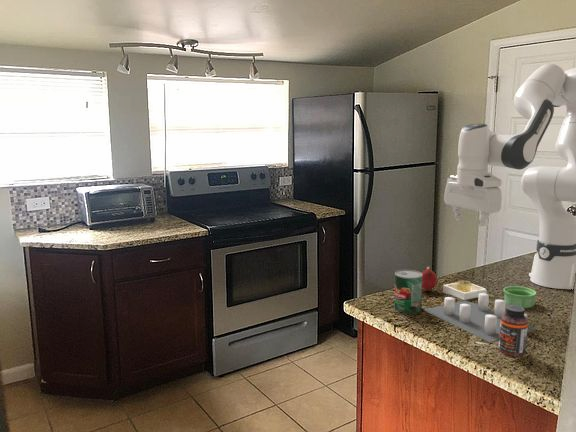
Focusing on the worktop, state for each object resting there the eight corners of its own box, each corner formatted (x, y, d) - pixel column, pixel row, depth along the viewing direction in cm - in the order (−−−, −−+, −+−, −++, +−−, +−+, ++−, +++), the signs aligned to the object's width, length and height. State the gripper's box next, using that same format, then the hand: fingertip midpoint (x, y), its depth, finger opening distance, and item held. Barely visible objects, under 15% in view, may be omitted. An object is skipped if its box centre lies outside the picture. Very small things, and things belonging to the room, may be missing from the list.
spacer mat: (466, 301, 158) (467, 286, 158) (536, 330, 136) (538, 313, 135) (422, 310, 151) (423, 294, 150) (489, 343, 129) (490, 325, 128)
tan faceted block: (464, 290, 167) (465, 279, 166) (474, 293, 164) (474, 283, 163) (453, 292, 165) (454, 281, 164) (462, 296, 162) (463, 285, 161)
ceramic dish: (464, 288, 171) (464, 280, 170) (486, 296, 162) (486, 288, 162) (442, 292, 167) (443, 285, 166) (463, 301, 159) (464, 293, 158)
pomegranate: (437, 294, 165) (438, 270, 163) (418, 293, 166) (419, 269, 165) (436, 288, 170) (437, 265, 169) (417, 287, 172) (418, 264, 170)
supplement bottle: (494, 352, 124) (497, 307, 122) (504, 345, 128) (507, 301, 126) (519, 360, 120) (523, 314, 118) (529, 352, 124) (533, 307, 122)
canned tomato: (425, 308, 154) (426, 272, 152) (415, 316, 147) (417, 279, 145) (400, 302, 158) (401, 268, 156) (389, 311, 152) (390, 274, 150)
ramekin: (535, 312, 150) (536, 297, 149) (501, 307, 153) (502, 293, 153) (535, 301, 158) (536, 288, 157) (503, 297, 161) (504, 284, 161)
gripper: (440, 175, 165) (438, 218, 168) (490, 182, 147) (487, 230, 150) (455, 174, 168) (453, 216, 170) (506, 181, 150) (503, 227, 152)
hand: (469, 222), depth 160 cm, fingers open, 8 cm apart
